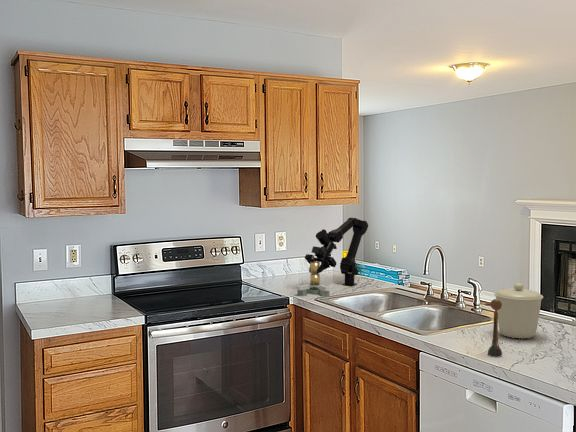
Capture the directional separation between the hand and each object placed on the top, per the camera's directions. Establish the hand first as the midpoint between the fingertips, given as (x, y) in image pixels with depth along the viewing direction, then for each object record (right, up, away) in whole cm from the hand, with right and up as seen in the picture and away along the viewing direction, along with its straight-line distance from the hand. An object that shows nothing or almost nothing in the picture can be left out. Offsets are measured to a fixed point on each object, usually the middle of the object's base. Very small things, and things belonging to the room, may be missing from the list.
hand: (313, 272), depth 327 cm
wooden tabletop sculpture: (+59, -19, -112) cm, 128 cm away
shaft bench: (+1, -11, -4) cm, 12 cm away
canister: (+77, -17, -87) cm, 117 cm away
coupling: (+1, -7, +1) cm, 7 cm away
